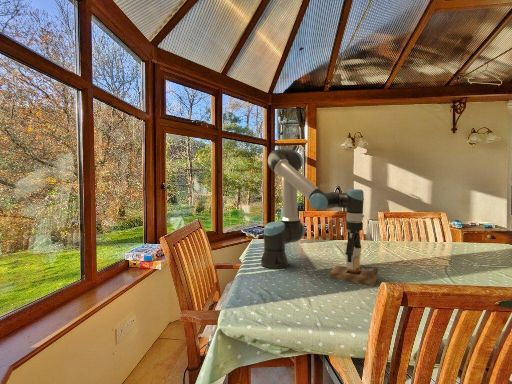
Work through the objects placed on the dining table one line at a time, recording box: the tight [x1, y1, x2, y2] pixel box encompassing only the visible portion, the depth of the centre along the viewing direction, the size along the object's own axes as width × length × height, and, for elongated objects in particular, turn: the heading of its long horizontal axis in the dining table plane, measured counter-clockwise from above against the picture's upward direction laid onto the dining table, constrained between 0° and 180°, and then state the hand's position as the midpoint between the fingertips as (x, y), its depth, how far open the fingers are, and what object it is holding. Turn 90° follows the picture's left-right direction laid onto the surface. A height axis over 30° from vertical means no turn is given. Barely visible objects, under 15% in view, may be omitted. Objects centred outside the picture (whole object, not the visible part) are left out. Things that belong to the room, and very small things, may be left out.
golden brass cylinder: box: [349, 256, 361, 275], centre depth 140 cm, size 5×5×10 cm
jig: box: [329, 265, 379, 287], centre depth 140 cm, size 20×12×5 cm, turn 59°
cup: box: [343, 242, 362, 267], centre depth 159 cm, size 9×9×12 cm
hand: (353, 264), depth 140 cm, fingers open, 13 cm apart
